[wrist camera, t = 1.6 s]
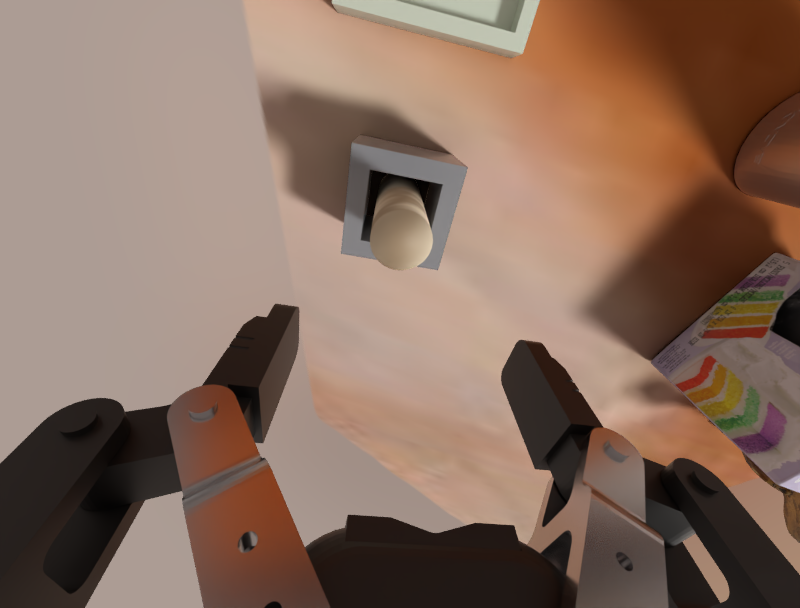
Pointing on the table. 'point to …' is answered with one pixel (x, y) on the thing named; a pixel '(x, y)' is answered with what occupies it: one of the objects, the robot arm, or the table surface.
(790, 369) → the cake pan box
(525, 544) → the robot arm
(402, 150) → the grey cup
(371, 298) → the table surface
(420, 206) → the birch peg
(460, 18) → the sage tray
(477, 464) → the table surface
